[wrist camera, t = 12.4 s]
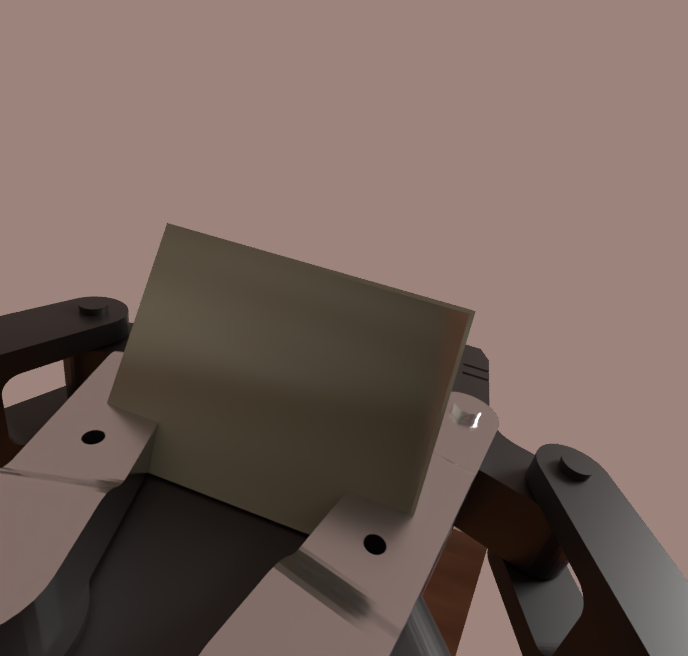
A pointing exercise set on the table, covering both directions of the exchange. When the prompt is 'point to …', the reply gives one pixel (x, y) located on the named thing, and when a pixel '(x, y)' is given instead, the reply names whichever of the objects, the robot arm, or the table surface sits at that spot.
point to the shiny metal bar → (287, 379)
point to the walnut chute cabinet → (454, 585)
